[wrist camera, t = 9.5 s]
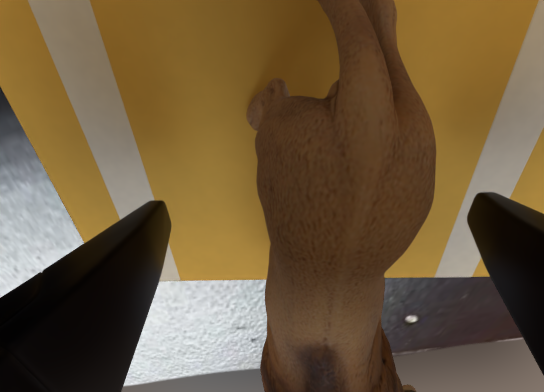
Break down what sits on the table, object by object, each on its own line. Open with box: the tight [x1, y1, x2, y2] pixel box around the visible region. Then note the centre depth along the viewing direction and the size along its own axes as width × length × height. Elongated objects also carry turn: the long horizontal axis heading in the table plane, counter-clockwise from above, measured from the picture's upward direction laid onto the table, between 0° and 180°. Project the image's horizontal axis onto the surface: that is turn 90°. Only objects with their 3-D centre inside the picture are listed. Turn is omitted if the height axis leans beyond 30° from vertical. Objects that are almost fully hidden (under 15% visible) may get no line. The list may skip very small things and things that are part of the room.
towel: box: [0, 0, 544, 281], centre depth 11 cm, size 20×14×1 cm
